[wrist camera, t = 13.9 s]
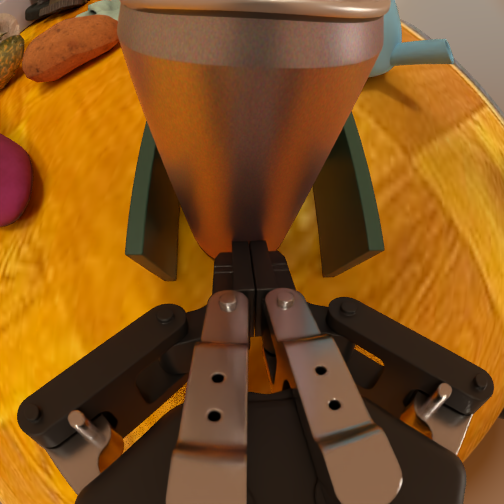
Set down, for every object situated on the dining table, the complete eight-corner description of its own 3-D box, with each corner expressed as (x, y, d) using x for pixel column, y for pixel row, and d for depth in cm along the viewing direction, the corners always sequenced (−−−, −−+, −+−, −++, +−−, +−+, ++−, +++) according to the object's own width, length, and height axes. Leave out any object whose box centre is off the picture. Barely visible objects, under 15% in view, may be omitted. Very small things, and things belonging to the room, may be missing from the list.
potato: (31, 75, 20) (17, 36, 13) (116, 35, 24) (114, -5, 18) (33, 102, 19) (14, 59, 13) (130, 56, 24) (128, 9, 17)
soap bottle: (-1, 50, 26) (-31, -8, 3) (-4, 49, 27) (-32, -5, 4) (38, 19, 29) (14, -41, 6) (32, 19, 29) (9, -36, 7)
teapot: (312, 11, 26) (328, -56, 14) (435, 86, 24) (479, 23, 12) (207, 52, 22) (202, -52, 10) (380, 163, 20) (467, 51, 7)
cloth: (49, 56, 22) (43, 45, 20) (86, 5, 28) (83, -4, 25) (182, 13, 24) (180, 0, 22) (184, -22, 30) (183, -31, 27)
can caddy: (334, 277, 17) (392, 246, 10) (163, 281, 16) (118, 250, 9) (317, 151, 19) (347, 84, 12) (174, 151, 19) (152, 80, 12)
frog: (28, 38, 24) (56, 54, 24) (-18, 85, 23) (-2, 116, 22) (5, 3, 13) (26, 7, 12) (-46, 57, 11) (-44, 79, 11)
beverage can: (184, 192, 18) (120, -35, 3) (270, 172, 18) (319, -48, 4) (204, 278, 16) (75, 47, 2) (298, 253, 17) (458, 43, 3)
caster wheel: (17, 27, 25) (48, 3, 30) (46, 23, 28) (76, 0, 33) (16, 10, 20) (49, -12, 25) (45, 4, 23) (78, -16, 28)
